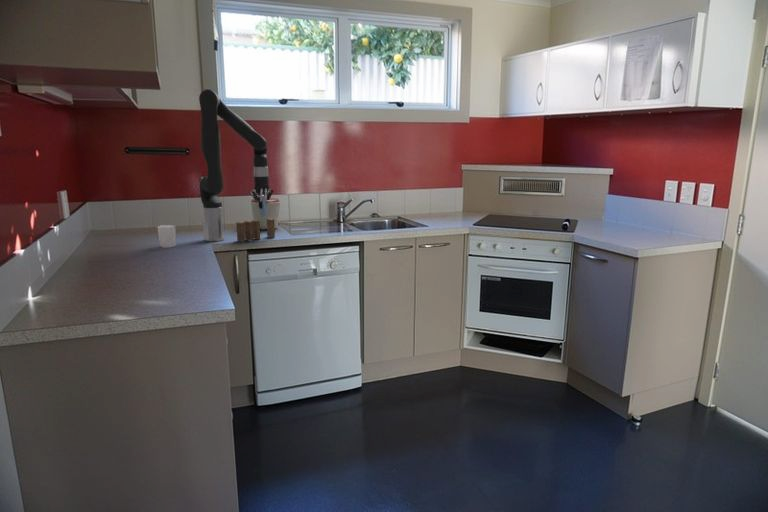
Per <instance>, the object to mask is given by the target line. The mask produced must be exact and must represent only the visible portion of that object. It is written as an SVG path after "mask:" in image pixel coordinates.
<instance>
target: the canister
mask: <svg viewBox="0 0 768 512" xmlns="http://www.w3.org/2000/svg"><path fill="white" fill-rule="evenodd" d="M281 203H282V202H281V200H280V199H278V198H274V197H270V199H269V200H267V201H266V206H267V212H268V216H265V217H261V216H260V211H259V206H258V201H256V200H255V199H254V198H253V199H251V200H249V204H250V208H251V214H252V215H251V216H252V219H253V220H257V221H260V229H261V230H262V231H267V230H266V229H267V219H268V218H270V219H274V226H275V229H276V228H277V227H278V225H279V220H280V204H281ZM261 230H260V231H261Z"/></svg>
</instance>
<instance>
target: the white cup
mask: <svg viewBox="0 0 768 512" xmlns="http://www.w3.org/2000/svg"><path fill="white" fill-rule="evenodd" d="M157 232H158V238H159V246H160V248H165V249H167V248H168V249H169V248H175V247H176V225H174V224H173V225H172V224H165V225H164V224H163V225H160V226H159V225H158V226H157Z"/></svg>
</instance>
